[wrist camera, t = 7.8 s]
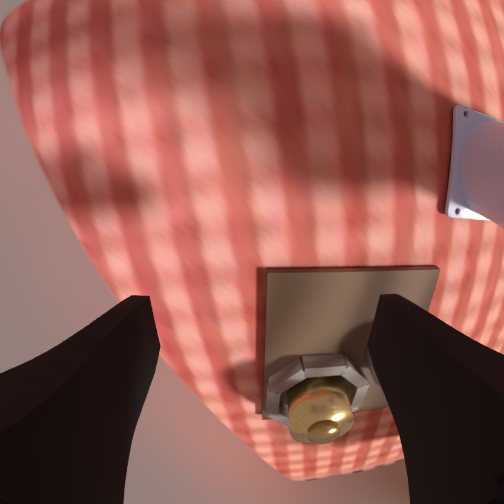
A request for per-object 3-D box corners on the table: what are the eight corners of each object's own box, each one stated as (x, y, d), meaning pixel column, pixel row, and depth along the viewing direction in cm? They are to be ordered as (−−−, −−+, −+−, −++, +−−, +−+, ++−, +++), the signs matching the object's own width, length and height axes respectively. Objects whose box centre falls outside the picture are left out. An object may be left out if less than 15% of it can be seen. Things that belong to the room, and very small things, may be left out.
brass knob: (341, 362, 22) (356, 411, 17) (344, 396, 24) (356, 441, 19) (280, 376, 22) (285, 427, 18) (291, 409, 24) (296, 455, 19)
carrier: (436, 265, 19) (461, 289, 16) (385, 402, 25) (395, 428, 22) (266, 268, 19) (269, 298, 16) (262, 414, 25) (263, 444, 22)
